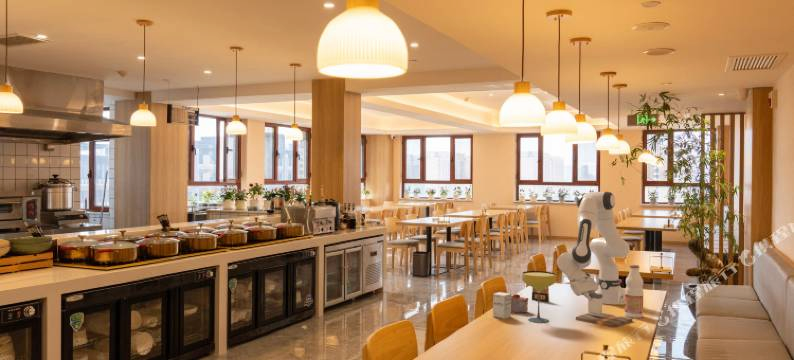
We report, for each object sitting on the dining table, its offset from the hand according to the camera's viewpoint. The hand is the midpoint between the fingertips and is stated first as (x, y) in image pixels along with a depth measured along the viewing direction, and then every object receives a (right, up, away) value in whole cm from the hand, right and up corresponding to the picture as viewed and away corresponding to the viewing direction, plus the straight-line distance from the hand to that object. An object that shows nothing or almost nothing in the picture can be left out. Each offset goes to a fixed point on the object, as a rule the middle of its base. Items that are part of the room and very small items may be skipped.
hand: (593, 299), depth 335 cm
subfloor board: (+4, -10, -4) cm, 12 cm away
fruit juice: (+24, -11, +7) cm, 27 cm away
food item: (-39, -10, +15) cm, 43 cm away
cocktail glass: (-31, -10, -6) cm, 34 cm away
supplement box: (-50, -10, +2) cm, 51 cm away
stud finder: (0, -7, -1) cm, 7 cm away
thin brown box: (-19, -10, +45) cm, 49 cm away
